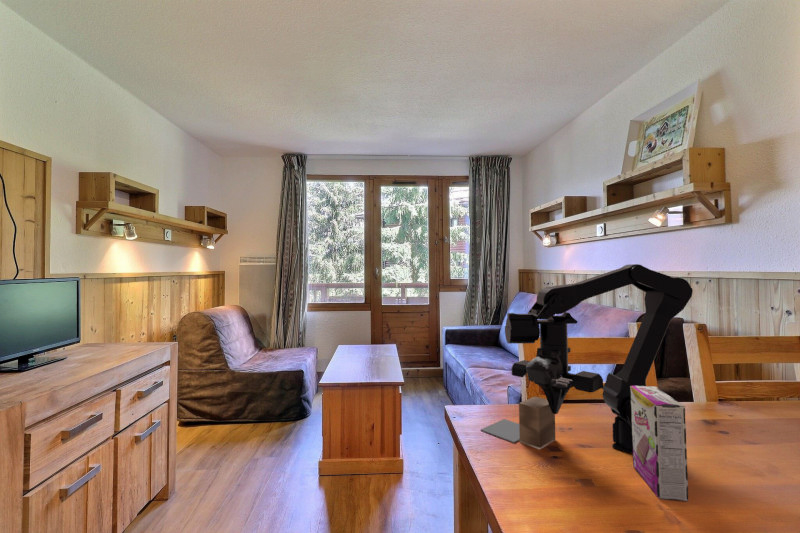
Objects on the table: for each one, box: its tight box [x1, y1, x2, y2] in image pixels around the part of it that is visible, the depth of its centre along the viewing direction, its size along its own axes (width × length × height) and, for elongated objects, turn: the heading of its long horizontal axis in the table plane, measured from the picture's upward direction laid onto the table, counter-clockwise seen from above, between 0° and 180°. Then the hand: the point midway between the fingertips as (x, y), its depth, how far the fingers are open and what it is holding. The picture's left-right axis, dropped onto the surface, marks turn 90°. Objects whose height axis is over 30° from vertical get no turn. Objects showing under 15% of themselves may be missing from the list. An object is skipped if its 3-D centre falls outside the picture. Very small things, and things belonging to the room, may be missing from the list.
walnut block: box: [518, 396, 556, 450], centre depth 88 cm, size 5×7×9 cm
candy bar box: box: [630, 385, 689, 502], centre depth 70 cm, size 11×5×16 cm, turn 168°
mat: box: [480, 418, 520, 444], centre depth 94 cm, size 10×10×1 cm
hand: (555, 413), depth 85 cm, fingers closed
